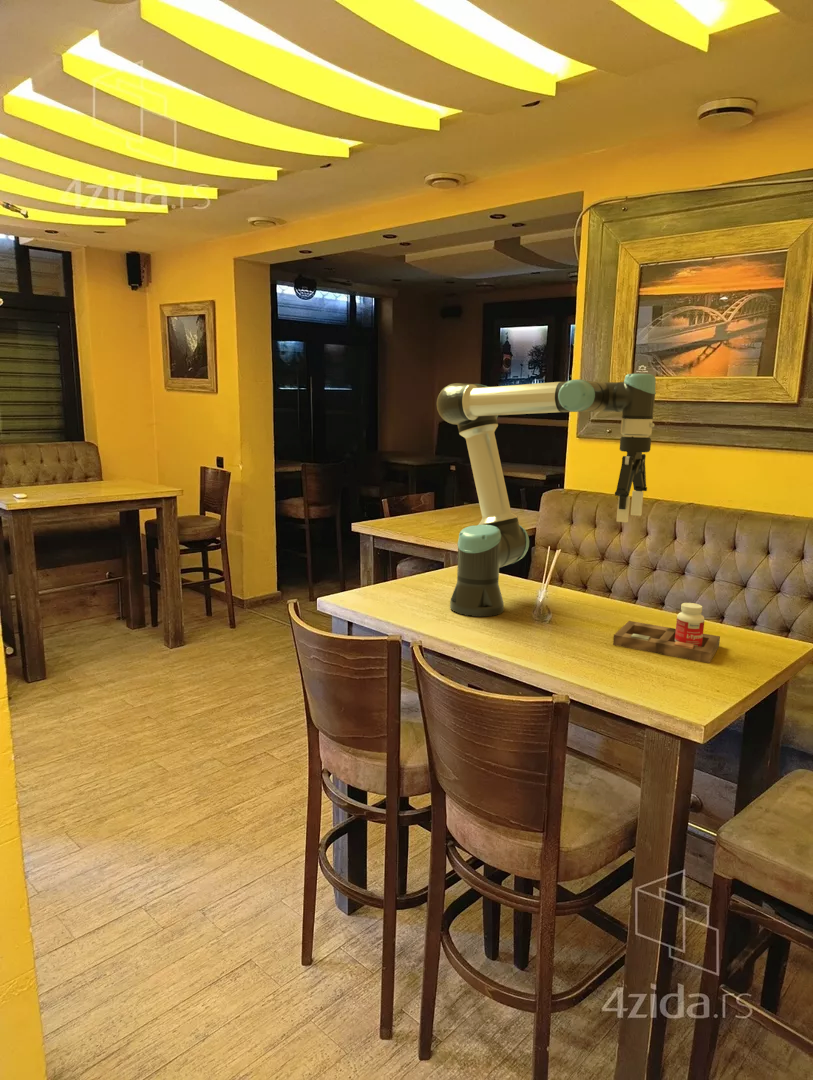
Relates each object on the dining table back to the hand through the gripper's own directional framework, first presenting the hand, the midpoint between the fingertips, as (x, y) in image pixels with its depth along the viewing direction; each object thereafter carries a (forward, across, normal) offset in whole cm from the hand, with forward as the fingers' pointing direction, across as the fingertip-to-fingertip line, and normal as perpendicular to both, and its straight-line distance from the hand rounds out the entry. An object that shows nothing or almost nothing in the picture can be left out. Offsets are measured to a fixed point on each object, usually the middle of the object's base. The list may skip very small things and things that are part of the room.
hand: (629, 518), depth 182 cm
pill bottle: (+29, -11, -19) cm, 36 cm away
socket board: (+29, -11, -14) cm, 34 cm away
